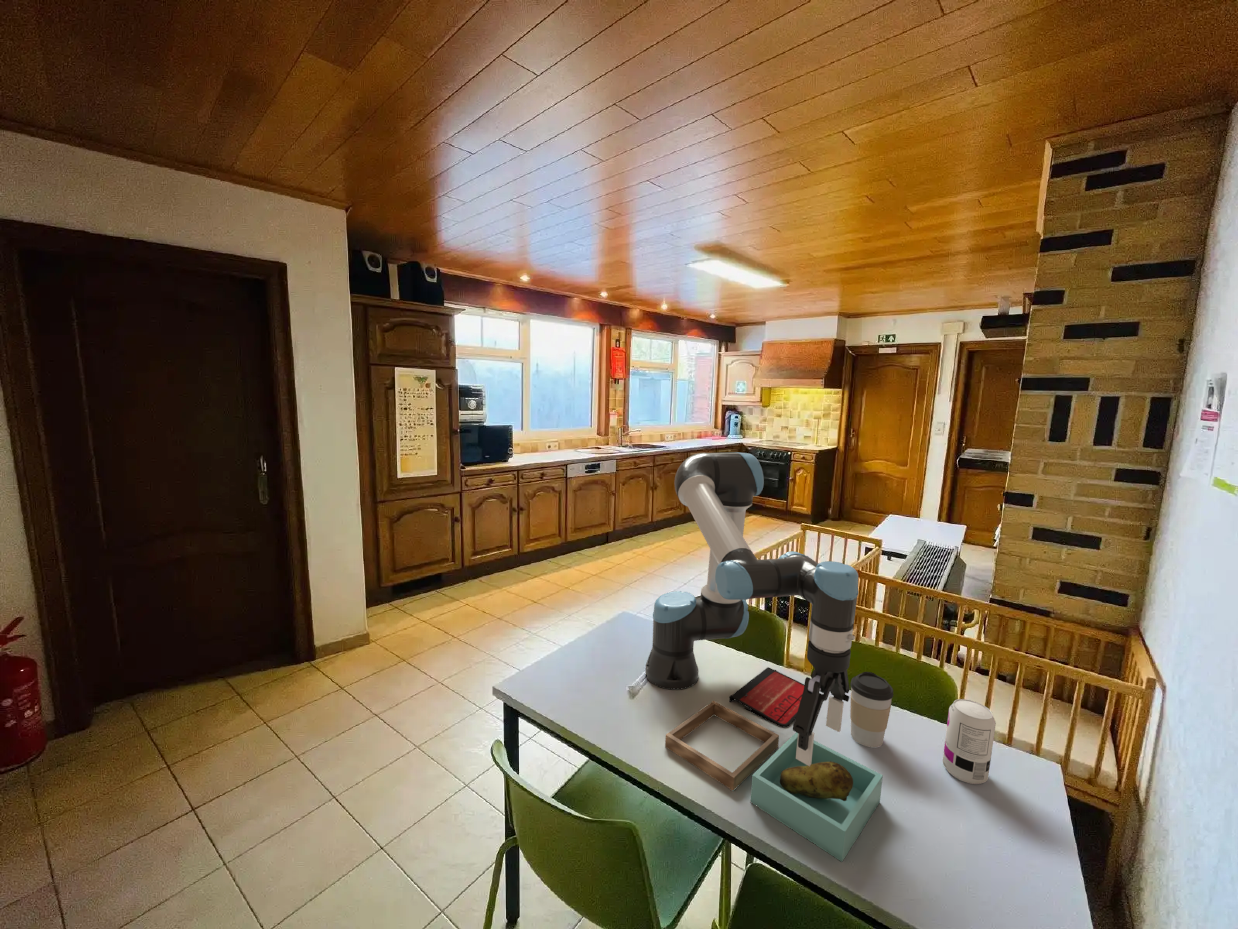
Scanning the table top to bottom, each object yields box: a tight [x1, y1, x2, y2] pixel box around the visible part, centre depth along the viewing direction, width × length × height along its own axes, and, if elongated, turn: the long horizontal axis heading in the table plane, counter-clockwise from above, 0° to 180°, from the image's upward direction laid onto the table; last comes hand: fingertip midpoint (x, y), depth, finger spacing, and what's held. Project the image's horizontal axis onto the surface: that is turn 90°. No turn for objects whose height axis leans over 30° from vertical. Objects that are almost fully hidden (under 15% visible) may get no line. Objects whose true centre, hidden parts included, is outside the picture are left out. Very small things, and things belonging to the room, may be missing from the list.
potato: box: [780, 761, 853, 801], centre depth 101 cm, size 8×13×8 cm, turn 51°
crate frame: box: [664, 700, 780, 791], centre depth 117 cm, size 18×19×3 cm
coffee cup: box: [849, 671, 894, 748], centre depth 121 cm, size 9×9×15 cm
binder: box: [729, 666, 805, 728], centre depth 137 cm, size 16×2×21 cm
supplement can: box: [942, 698, 997, 785], centre depth 110 cm, size 8×8×15 cm
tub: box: [750, 732, 884, 863], centre depth 102 cm, size 18×19×6 cm
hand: (818, 744), depth 101 cm, fingers open, 13 cm apart
